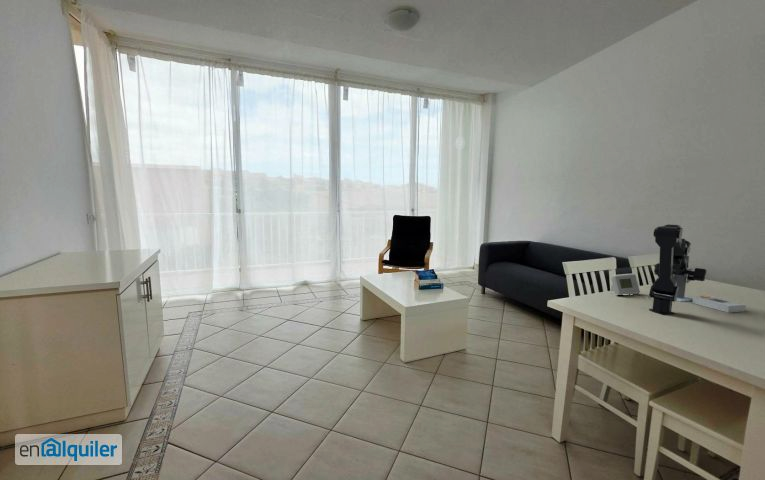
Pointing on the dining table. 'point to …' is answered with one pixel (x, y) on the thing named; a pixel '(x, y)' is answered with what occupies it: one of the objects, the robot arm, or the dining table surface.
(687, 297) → the pad
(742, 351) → the dining table surface
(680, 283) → the plug
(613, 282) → the digital clock
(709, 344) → the dining table surface
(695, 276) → the robot arm
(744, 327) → the dining table surface
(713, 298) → the white flat block
